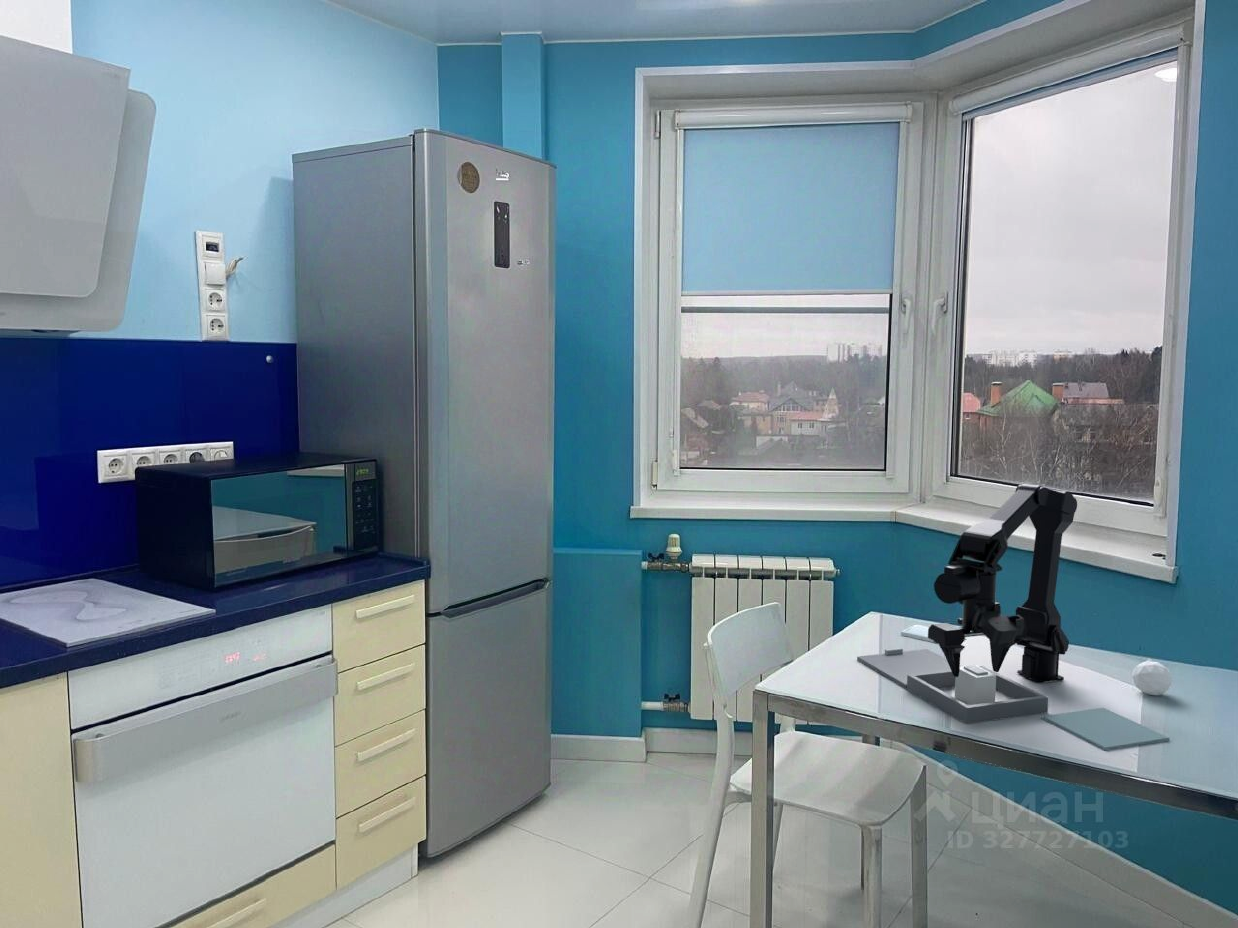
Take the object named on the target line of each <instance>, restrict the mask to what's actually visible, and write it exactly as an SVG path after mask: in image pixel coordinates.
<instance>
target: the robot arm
mask: <svg viewBox="0 0 1238 928" xmlns="http://www.w3.org/2000/svg"><path fill="white" fill-rule="evenodd" d="M1077 509H1078V501H1077V498H1076V497H1074V495H1073V493H1072V492H1071V491H1070V490H1060V489H1052V488H1047V487H1045V486H1043V485H1037V484H1028V483H1023V484H1018V485H1017V487H1016V488H1015V492H1014V493H1013V494H1012V495H1011V496H1010V497H1009V498H1008V499H1007V500H1006V501H1005V502H1004V503H1003V504H1002V505H1001V506H1000V507H999V508H998V509H997V510H996V511H995V512H994V513H993V514H992V515H991V516H990V517H989V519H987V520H985V521H982V522H978V523H976V524H972V525H971V526H970V527H969V528H968V529H966V530H964V531H963V532H962V533H961V535H960V537H959V539H958V540H957V543H956V546H955V548H954V550H953V552H952V554H951V556H950V558H949V559H948V562H947V564H948V565H947V566H945V567H944V568H943V569H944V570H943V573H941V574H939V575H938V576H937V577H936V579H935V581H934V584H933V590H934V593H935V595H936V598H938V600H940V601H941V602H942V603H944V604H947V605H949V604H950V605H952V604H956V603H958V604H960V605H962V616H961V617H958V618H957V624H958V625H960V627H957V626H956V625H953V624H950V623H948V622H942V623H933V624H931V625H930V626H928V627H929V629H928V638H929V639H932V640H934V642H935V644H938V646H939V648H940V649H941V652H943V655H944V658H946V659H947V662H948V664H949V666H950V669H951V671H952V674H953V675H954V676H955V677H958V676H959V670H960V666H961V653H962V651H963V650H964V649H965V648H966V646H965V645H963V643H964V642H965V639H964V637H965V638H971V637H979V636H985V637H986V638H987V639H988V641H989V648H990V661H991V667H992V671H994V672H996V673H999V672H1000V669H1001V667H1002V665H1003V662H1005V661H1004V660H1005V658H1006V656H1007V655H1008V653H1009V650H1010V649H1011V648H1012V647H1013V646H1014V645H1017V646H1022V647H1023V654H1022V655H1021V656H1022V658H1021V659H1022V660H1021V669H1019V670H1018V669H1017V672H1016V673H1017V674H1019V675H1021V676H1024V677H1025V678H1028V679H1030V680H1032V681H1034V682H1036V683H1040V684H1042V683H1047V682H1048V683H1049V682H1055V681H1064V680H1065V678H1064V676H1062V675H1061V674H1060V675H1059V665H1060V664H1059V663H1060V655H1063V656H1064V655H1065V654H1066V652H1068V648H1069V645H1070V640H1069V638H1067V636H1066V634H1065V633H1064V631H1063V629H1062V627H1061V626H1062V616H1061V614H1060V612H1059V610H1058V608H1057V605H1056V604H1055V597H1056V589H1057V580H1058V574H1059V573H1058V572H1059V565H1060V558H1061V557H1060V556H1061V548H1062V542H1063V541H1062V539H1063V534H1064V533H1065V531H1067V529H1068V528H1069V527H1070V526H1071V524H1073V522H1074V517H1075V513H1076V512H1077ZM1028 518H1029V519H1030V521H1031V523H1032V525H1033V528H1034V529H1035V538H1034V543H1033V544H1034V547H1033V553H1032V554H1033V555H1032V562H1031V570H1030V578H1029V584H1028V585H1029V587H1028V595H1027V599H1026V600H1025V601H1024V603H1023V604H1022V605H1021V606H1020V605H1019V606H1017V607H1016V609H1015V614H1013V615H1008V614H1007V615H1004V614H1002V611H1001V609H1002V607H1001V603H1000V602H996V591H997V588H996V587H997V572H1001V571H1003V567H1002V566H1001V564H999V561H1000V560H1001V558H1003V556H1004V554H1005V553H1006V552H1007V550H1008V549H1009V547H1008V545H1009V544H1008V543H1009V542H1008V540H1009V538H1010V537H1011V536H1012V534H1014V532H1015V531H1017V529H1018V528H1019V527H1021V525H1022V524H1023V523H1024V522H1025V521H1026V520H1027V519H1028ZM934 642H933V643H934Z"/></svg>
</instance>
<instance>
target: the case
mask: <svg viewBox="0 0 1238 928" xmlns="http://www.w3.org/2000/svg"><path fill="white" fill-rule="evenodd" d="M856 658H857V659H856V661H858V662H859V663H862V664H863V665H864V666H866V667H868V668H870V669H872V670H873V671H876V672H877V673H879V674H880V675H882V676H884V677H886V678H887V679H889V680H890V681H893V682H894V683H896V685H897V684H898V685H899V686H901V687H903V688H904V689H907V691H909V692H911V693H913V694H915V695H916V696H918V697H919V698H922V699H923V700H925V701H927V702H928V703H930V704H931V705H933V706H935V707H937V708H939V709H940V710H941V711H944V712H945V713H947V714H949V715H951V716H952V717H954V718H956V719H957V720H959V721H960V722H962V723H964V724H967V725H968V724H975V723H976V724H977V723H981V722H982V723H983V722H989V721H998V720H1004V719H1011V718H1018V717H1025V716H1027V717H1028V716H1032V715H1039V714H1040V715H1041V714H1047V713H1048V712H1049V711H1048V708H1049V706H1048V705H1049V697H1048V696H1046V695H1044V694H1042V693H1041V692H1038V691H1036V690H1034V689H1032V688H1030V687H1028V686H1026V685H1023V684H1021V683H1020V682H1017V681H1015V680H1013V679H1011V678H1009V677H1006V676H1004V675H1003V674H1000V673H999V672H995V671H993V669H990V668H987V667H986V666H983V665H977V666H978V667H980V668H982V669H984V670H987V671H989V672H991V673H993V674H995V675H996V691H998V692H999V693H1001V694H1004V695H1006V696H1008V697H1010V698H1012V699H1007V700H1000V701H999V700H998V701H995V702H990V703H982V704H974V705H969V704H968V703H966V702H964V701H962V700H960V699H958V698H957V697H955V696H952V695H950V694H948V693H946V692H945V691H943V690H941V689H939V688H946V687H951V686H955V676H954V675H953V674H952V671H951V669H950V666H949V664H948V662H947V659H946V657H945V656H941V655H939V654H937V652H934V651H932V650H930V649H927V648H925V649H924V648H923V649H916V650H914V649H913V650H908V651H904V649H903V648H902V647H895V648H893V647H892V648H885V649H884V653H880V654H879V653H878V654H868V655H859V656H856ZM960 667H962V665H960Z"/></svg>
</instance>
